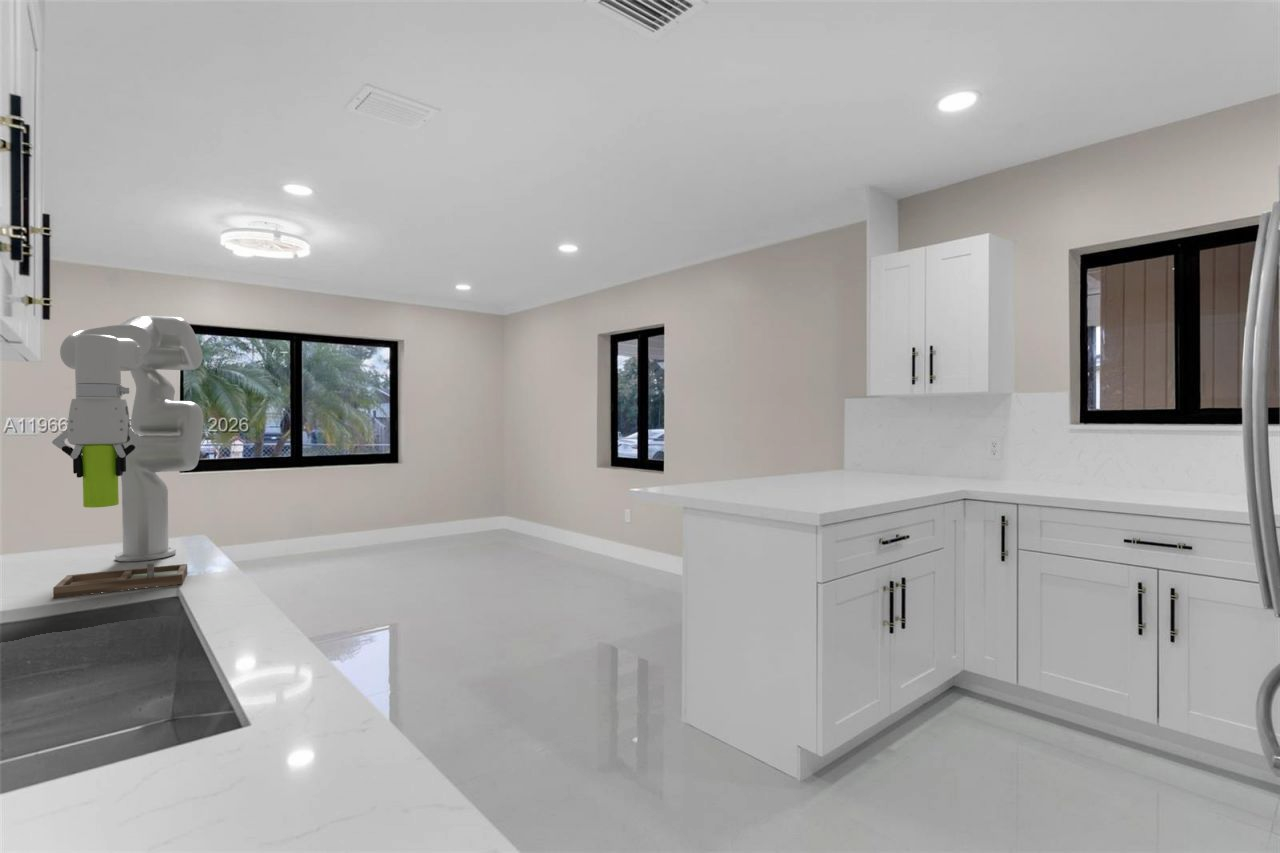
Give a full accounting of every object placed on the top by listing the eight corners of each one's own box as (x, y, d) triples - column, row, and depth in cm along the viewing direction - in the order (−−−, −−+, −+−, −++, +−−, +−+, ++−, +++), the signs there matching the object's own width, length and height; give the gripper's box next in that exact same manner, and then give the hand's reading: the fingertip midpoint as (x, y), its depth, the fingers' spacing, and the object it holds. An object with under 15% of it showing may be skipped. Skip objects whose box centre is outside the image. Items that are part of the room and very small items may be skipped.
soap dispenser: (107, 507, 138) (105, 413, 137) (75, 507, 138) (73, 413, 137) (130, 503, 144) (128, 413, 143) (99, 503, 144) (97, 412, 143)
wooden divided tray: (67, 585, 142) (67, 561, 142) (187, 573, 153) (187, 551, 153) (53, 598, 132) (52, 573, 132) (182, 584, 143) (182, 561, 143)
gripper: (151, 393, 147) (152, 472, 148) (51, 392, 139) (52, 476, 139) (145, 393, 141) (146, 476, 141) (40, 391, 132) (42, 480, 133)
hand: (100, 475), depth 140 cm, fingers closed on soap dispenser, 5 cm apart
